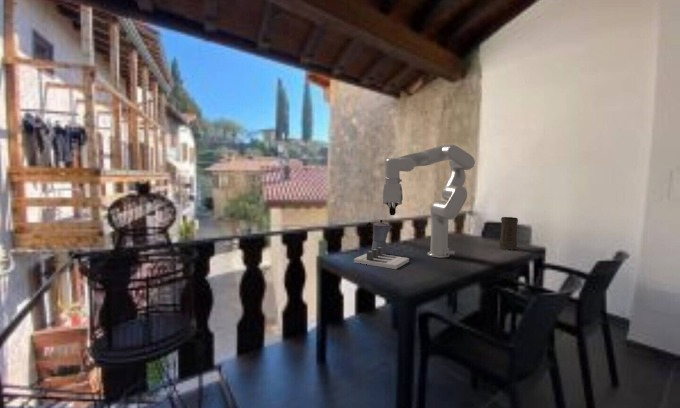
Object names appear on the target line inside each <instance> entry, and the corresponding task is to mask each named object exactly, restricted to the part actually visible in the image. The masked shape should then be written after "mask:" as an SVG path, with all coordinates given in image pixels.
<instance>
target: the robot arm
mask: <svg viewBox="0 0 680 408" xmlns="http://www.w3.org/2000/svg"><path fill="white" fill-rule="evenodd" d="M444 161H449V163H448V165H449V168H450V170H451V171H450V172H451V173H450V177H449V178H448V180H447V182H446V184H445V186H444V188H443V189H442V191H441V198H442V199H443V200H436V201H434V202H433V203H432V204H431V206H430V210H429V211H430V216H431V217H430V219H431V220H430V221H431V223H430V224H431V229H430V250H429V251H427V253H426V254H427V256H429V257H433V258H438V259H439V258H440V259H441V258H442V259H443V258H449V257H450V255H453V256H454V255H455V254H456V253H455V250H452V249H450V248H449V247H448V239H449V220H454V219H455V218H456V217H458V215H459V213H460V211H461V210H462V209H463V206H464V205H465V204H466V203H465V202H466V201H467V198H468V191H467V189H466V188H465V187H464V184H465V182H466V172H465V171H470V170H471V169H473V168H474V167H475V164H476V161H475V158H474V156H472V154H470V153H468V152H467V151H465V150H464V149H462V148H461V147H459V146H458V145H455V144H443V145H439V146H436V147H432V148H429V149H426V150H425V149H424V150H421V151H417V152H414V153H410V154H409V153H408V154H406V155H402V156H399V157H396V158H393V157H392V158H391V157H390V158H387V159H385V161H384V162H385V164H384V166H385V167H384V168H385V169H384V170H385V183H384V185H383V190H382V204H384V205H385V206H386V205H387V207H388V208H389V211H388V212H389V215H390V216H395V215H396V208H397V207H398V206H400V205H403V200H404V199H403V187H402V182H403V179H401V178H400V175H401V174H400V173H401V172H407V173H409V172H411V171H413V170H414V168H415V167H427V166H431V165H433V164H437V163H441V162H444Z"/></svg>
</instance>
